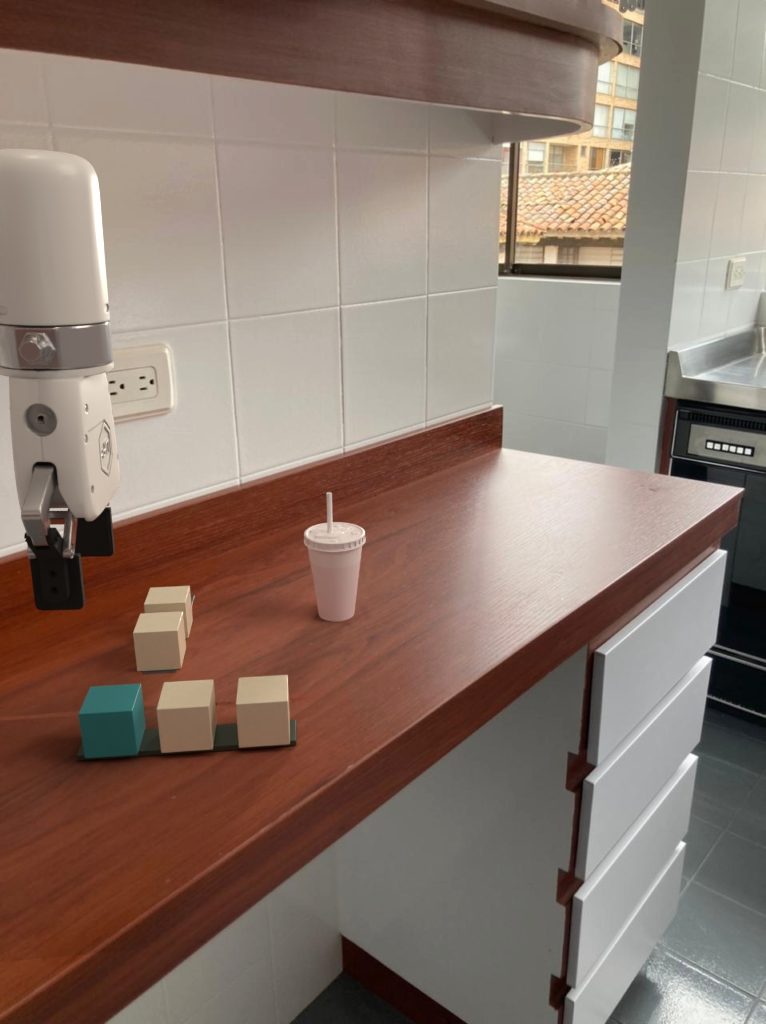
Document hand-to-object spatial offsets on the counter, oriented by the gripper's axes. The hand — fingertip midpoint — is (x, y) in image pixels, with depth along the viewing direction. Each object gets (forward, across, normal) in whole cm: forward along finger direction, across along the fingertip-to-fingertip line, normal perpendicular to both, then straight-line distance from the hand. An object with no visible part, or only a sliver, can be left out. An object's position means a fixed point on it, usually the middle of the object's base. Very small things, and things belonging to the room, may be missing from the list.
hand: (78, 579), depth 61 cm
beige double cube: (+14, +18, -3) cm, 23 cm away
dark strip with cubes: (+14, -1, -8) cm, 16 cm away
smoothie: (+14, +20, -20) cm, 32 cm away
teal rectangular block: (+14, -1, -2) cm, 14 cm away
